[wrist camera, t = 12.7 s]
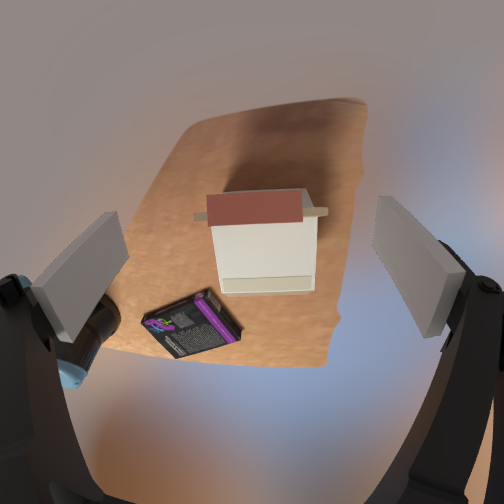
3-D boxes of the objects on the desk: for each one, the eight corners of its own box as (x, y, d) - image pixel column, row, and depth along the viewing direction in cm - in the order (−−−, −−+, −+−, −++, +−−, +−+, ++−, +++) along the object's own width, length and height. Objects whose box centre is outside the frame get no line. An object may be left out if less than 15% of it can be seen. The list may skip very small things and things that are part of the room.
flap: (157, 229, 18) (156, 199, 18) (213, 226, 37) (212, 210, 37) (356, 220, 17) (355, 189, 17) (314, 222, 36) (314, 206, 36)
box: (209, 286, 59) (143, 314, 64) (206, 296, 56) (138, 323, 61) (242, 329, 65) (177, 350, 70) (241, 340, 62) (174, 360, 67)
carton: (230, 257, 54) (222, 298, 44) (222, 192, 48) (210, 221, 37) (305, 255, 53) (313, 295, 43) (306, 188, 47) (317, 216, 36)
